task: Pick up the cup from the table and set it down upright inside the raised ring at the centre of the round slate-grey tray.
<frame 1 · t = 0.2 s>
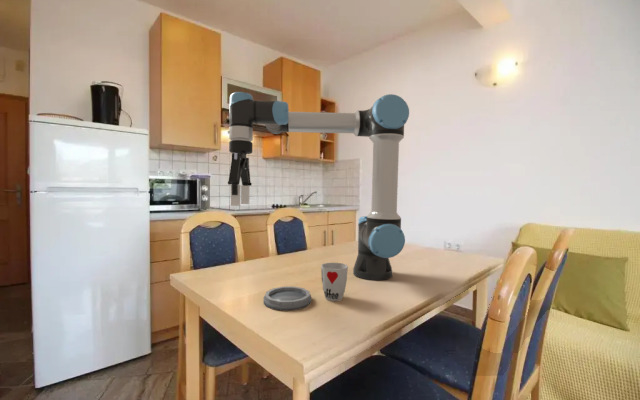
hand: (240, 204, 98), 28 cm above the table, fingers open, 13 cm apart
cup: (333, 298, 89), on the table
tray: (287, 300, 87), on the table
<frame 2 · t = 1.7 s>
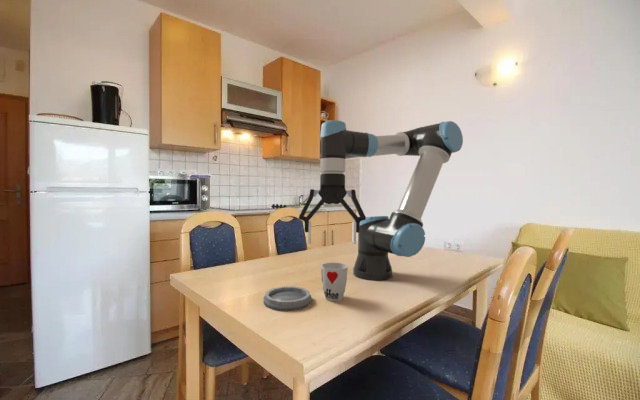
hand: (331, 243, 89), 17 cm above the table, fingers open, 13 cm apart
nothing on the table moved.
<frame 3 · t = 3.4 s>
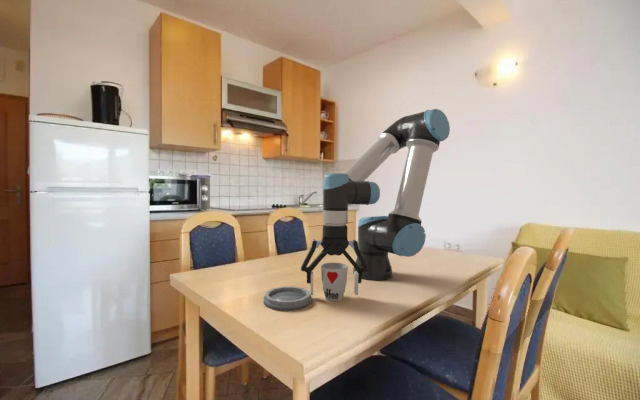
hand: (333, 293, 89), 1 cm above the table, fingers open, 13 cm apart
nothing on the table moved.
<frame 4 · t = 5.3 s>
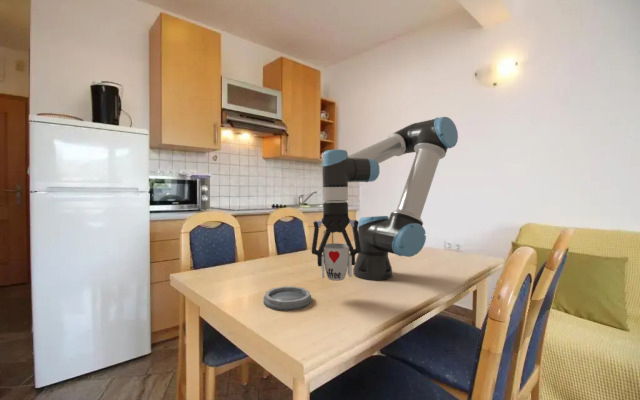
hand: (336, 275, 90), 7 cm above the table, fingers closed on cup, 8 cm apart
cup: (336, 278, 90), point 6 cm above the table, touching gripper
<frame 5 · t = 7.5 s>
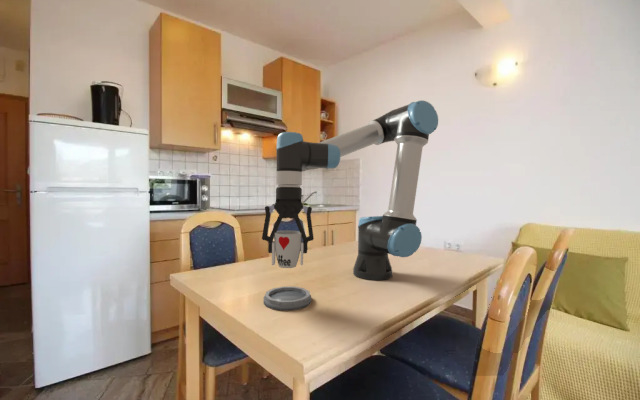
hand: (287, 264, 86), 11 cm above the table, fingers closed on cup, 8 cm apart
cup: (287, 266, 86), point 10 cm above the table, touching gripper
when the fingers open (3 cm above the table, at t = 9.7 s): cup stays where it is, resting on tray.
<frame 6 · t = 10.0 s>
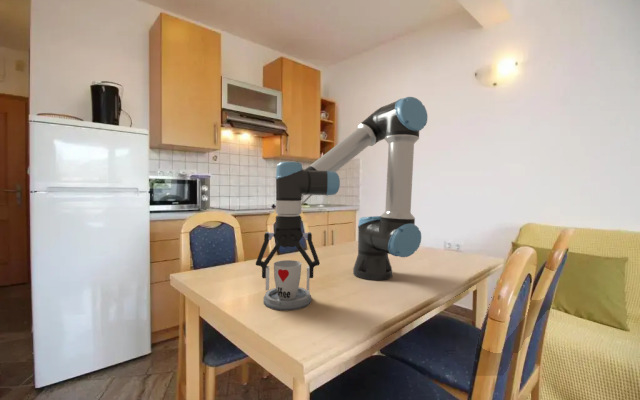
hand: (287, 288, 87), 4 cm above the table, fingers open, 11 cm apart
cup: (287, 297, 87), point 1 cm above the table, touching tray
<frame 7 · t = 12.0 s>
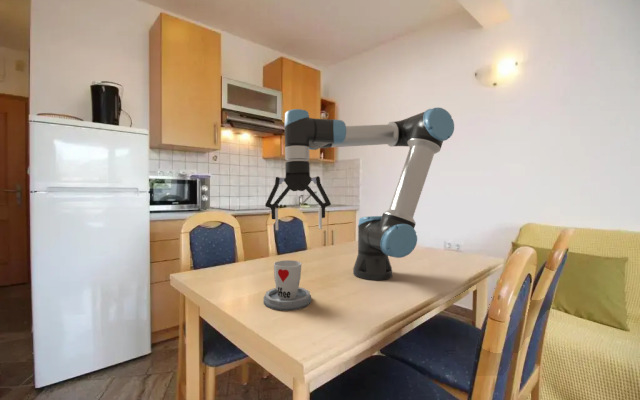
hand: (298, 229, 92), 21 cm above the table, fingers open, 13 cm apart
nothing on the table moved.
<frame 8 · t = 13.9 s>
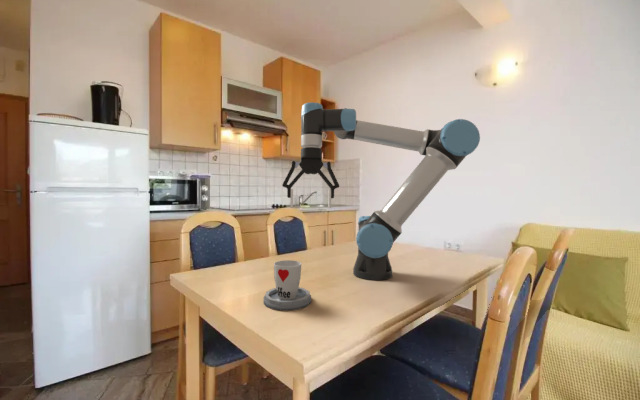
hand: (310, 207, 105), 27 cm above the table, fingers open, 13 cm apart
nothing on the table moved.
at the end: cup 0.1 cm off-centre on the tray, point 1.0 cm above the tray's base; cup tilted 0°; the gripper is holding nothing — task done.
